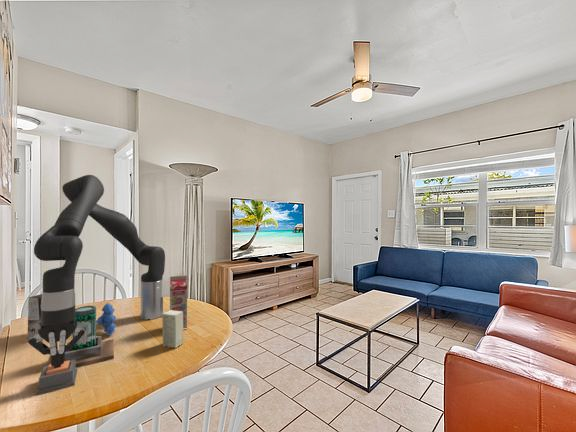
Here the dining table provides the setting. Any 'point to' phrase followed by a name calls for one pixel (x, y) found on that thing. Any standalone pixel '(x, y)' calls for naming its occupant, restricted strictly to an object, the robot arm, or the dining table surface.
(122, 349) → the dining table surface
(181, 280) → the juice carton
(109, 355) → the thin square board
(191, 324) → the dining table surface
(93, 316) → the can
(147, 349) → the dining table surface
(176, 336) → the skincare box
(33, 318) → the coffee box
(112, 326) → the grapes
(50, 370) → the button
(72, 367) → the button housing
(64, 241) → the robot arm
